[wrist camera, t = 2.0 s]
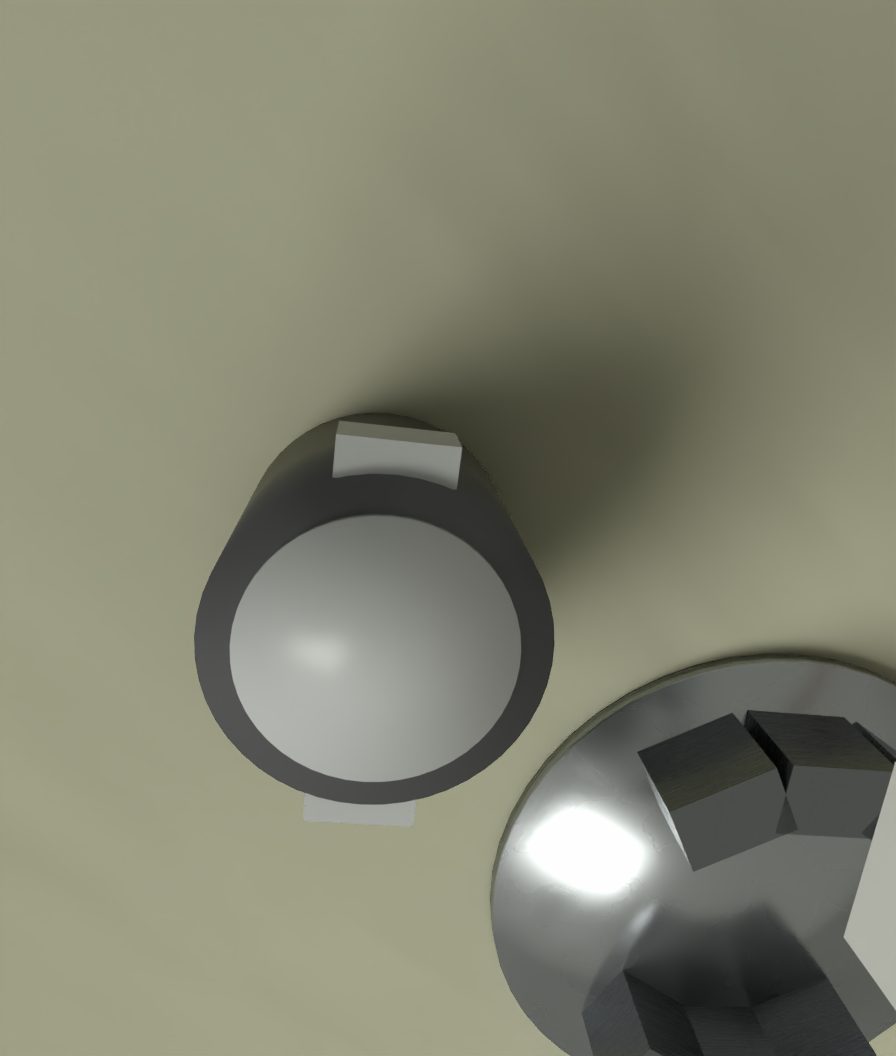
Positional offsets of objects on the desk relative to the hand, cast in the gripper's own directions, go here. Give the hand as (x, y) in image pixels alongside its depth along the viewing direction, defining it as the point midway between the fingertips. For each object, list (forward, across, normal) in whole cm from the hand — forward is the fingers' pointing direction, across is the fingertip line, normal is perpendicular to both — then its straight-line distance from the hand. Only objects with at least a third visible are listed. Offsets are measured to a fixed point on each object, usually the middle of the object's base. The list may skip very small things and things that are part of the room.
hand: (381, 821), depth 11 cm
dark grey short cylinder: (+10, 0, +1) cm, 10 cm away
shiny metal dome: (+10, +11, -8) cm, 17 cm away
